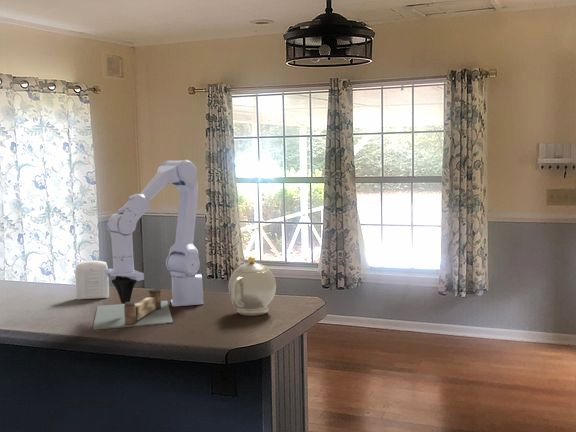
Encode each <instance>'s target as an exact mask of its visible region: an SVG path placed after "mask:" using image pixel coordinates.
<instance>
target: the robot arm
mask: <svg viewBox="0 0 576 432" xmlns="http://www.w3.org/2000/svg"><path fill="white" fill-rule="evenodd" d="M197 174H198V168H197V166H195V164H194V162H192V161H191V160H189V159H184V160H183V159H182V160H170V159H167V160H165V161H164V162H162V164H161V165H160V166H159V167H157V172H156V173H155V174H154V176H153V177H152V178H151V179H150V180H149V182H148V183H147V185H146V186H145V187H144V189H142V191H141V192H140V193H134V194H133V195H132V194H131V195H129V197H128V201H127V202H126V203H125V204H124V205H123V206H122V207H120V208H119V209H118V211H117V213H113V214H111V215H110V217H109V218H108V220H107V223H106V224H105V225H106V229H107V231H108V232H109V234H110V239H111V252H112V253H111V254H112V255H111V257H112V268H108V269H106V270H105V276H109V277H113V278H114V279H111V283H112V285H113V286H114V287H115V290H116V292H117V293H118V297H119V300H120V304H125V302H131V298H132V295H133V291H134V287H135V286H136V284H137V282H139V281H144V280H145V273H144V272H140V271H138V270H135V264H134V263H135V262H134V261H135V260H134V245H133V244H134V243H133V232H134V231H135V230H136V228H137V223H138V221H139V219H141V218H142V217H143V215H144V214H145V213H146V212H147V211H148V210H149V209H150V201H151V200H152V199H153V198H154V197H156V195H158V194H159V193H160V191H162V189H163V188H165V186H167V185H168V184H169V185H170V184H171V185H173V186H174V187H175V188H176V189H177V190H178V191H179V199H178V208H177V209H178V211H177V222H176V229H175V230H176V231H175V242H174V243H173V244H172V245H171V246H170V247H169V251H168V254H167V257H166V259H165V266H166V268H167V270H168V271H169V273H170V275H171V293H172V295H171V297H172V299H170V303H171V307H183V306H194V305H195V306H197V305H204V290H203V289H204V287H203V286H204V285H203V276H202V274H201V273H198V272H199V270H200V267H201V262H200V258H199V250H198V249H197V247H196V245H195V244H194V241H195V240H194V239H195V228H196V218H197V208H198V198H199V197H198V196H199V183H198V178H197V176H198V175H197Z"/></svg>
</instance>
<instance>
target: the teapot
mask: <svg viewBox="0 0 576 432" xmlns="http://www.w3.org/2000/svg"><path fill="white" fill-rule="evenodd" d="M247 261H248V262H246V263H244V264H240V266H238V267H237V268H235V269H234V270H233V272H232V273H231V275H230V278H229V280H228V294H229V296H230V302H231V303H232V305H233V306H234V307H235V308H236V309H237V313H238V314H240V315H242V316H247V317H258V316H262V315H263V316H264V315H265V314H267V313H268V311H269V306H268V305H270V304H271V302H272V300H274V297H275V295H276V292H277V291H276V290H277V283H276V278H275V276H274V274H273V272H272V271H271V270H270V269H269V268H268V267H267V265H266V264H262V263H259V262H255V261H256V258H255V257H254V256H249V257H248V258H247Z"/></svg>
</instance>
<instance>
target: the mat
mask: <svg viewBox="0 0 576 432" xmlns="http://www.w3.org/2000/svg"><path fill="white" fill-rule="evenodd" d="M136 303H137V302H134V304H136ZM124 305H125V304H122V303H117V304H105V305H104V304H103V305H102V304H101V305H97V306H96V312H95V316H94V320H93V326H92V331H95V330H107V329H108V330H110V329H119V328H121V329H122V328H130V327H132V328H133V327H143V326H145V327H146V326H154V325H155V324H157V325H167V323H169V324H173V323H174V321H173V317H172V314H171V313H172V312H171V310H170V306H169V302H168V300H161V309H159V310H153V311H151V312H150V313H148V314H147V315H145V316H143V317H142V318H140V319H139V320H136V324H134V325H125V315H124Z"/></svg>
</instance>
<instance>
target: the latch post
mask: <svg viewBox="0 0 576 432" xmlns="http://www.w3.org/2000/svg"><path fill="white" fill-rule="evenodd" d="M134 303H135V301H130V302H125V305H124V315H125V325H134V324H136V306H135V304H134Z"/></svg>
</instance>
